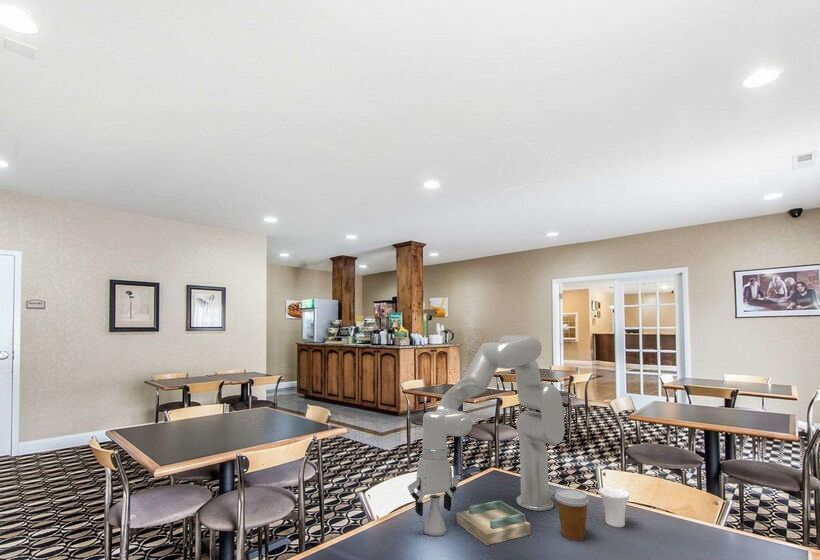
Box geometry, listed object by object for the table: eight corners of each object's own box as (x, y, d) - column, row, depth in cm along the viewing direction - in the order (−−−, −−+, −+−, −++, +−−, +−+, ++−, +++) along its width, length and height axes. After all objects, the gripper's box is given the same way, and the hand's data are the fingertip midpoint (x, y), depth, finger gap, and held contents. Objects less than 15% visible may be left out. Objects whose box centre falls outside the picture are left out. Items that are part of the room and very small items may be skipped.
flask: (445, 538, 126) (445, 502, 127) (421, 535, 127) (421, 500, 128) (448, 527, 133) (447, 493, 134) (425, 524, 134) (425, 491, 135)
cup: (596, 516, 140) (594, 484, 142) (626, 519, 139) (625, 487, 140) (602, 529, 132) (600, 494, 133) (635, 532, 130) (633, 497, 131)
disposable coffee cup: (574, 546, 121) (572, 501, 123) (549, 532, 129) (548, 490, 131) (597, 539, 125) (595, 496, 127) (571, 525, 134) (570, 485, 135)
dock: (497, 513, 142) (497, 497, 143) (530, 534, 128) (530, 516, 129) (456, 522, 136) (456, 506, 136) (486, 545, 121) (486, 526, 122)
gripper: (452, 448, 140) (451, 503, 137) (404, 453, 132) (402, 511, 130) (464, 453, 133) (464, 512, 131) (414, 459, 125) (413, 521, 123)
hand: (433, 512), depth 130 cm, fingers open, 9 cm apart
